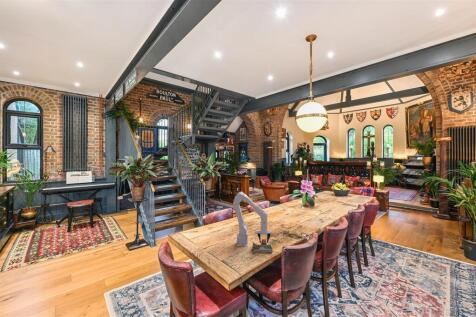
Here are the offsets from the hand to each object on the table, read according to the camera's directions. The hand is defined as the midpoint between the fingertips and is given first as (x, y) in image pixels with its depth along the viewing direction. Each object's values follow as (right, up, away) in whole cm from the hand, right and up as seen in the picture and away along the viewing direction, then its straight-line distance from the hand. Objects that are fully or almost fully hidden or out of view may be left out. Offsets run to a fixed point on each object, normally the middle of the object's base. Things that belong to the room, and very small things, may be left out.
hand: (263, 242), depth 170 cm
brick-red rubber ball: (0, +1, 0) cm, 1 cm away
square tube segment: (0, -3, 0) cm, 3 cm away
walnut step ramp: (-7, -3, -8) cm, 11 cm away
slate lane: (-2, -3, -8) cm, 9 cm away
